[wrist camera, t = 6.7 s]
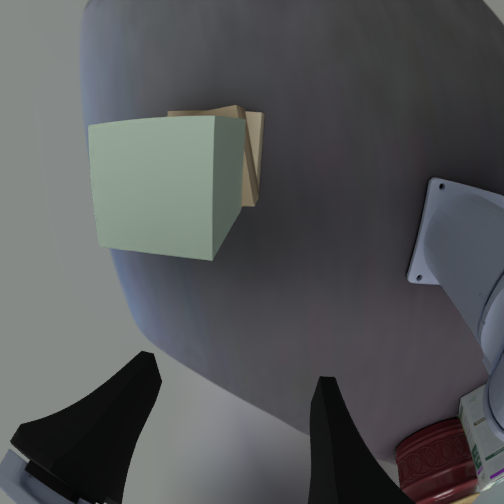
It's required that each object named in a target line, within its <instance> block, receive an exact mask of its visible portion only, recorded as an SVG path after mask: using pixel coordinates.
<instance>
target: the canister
mask: <svg viewBox="0 0 504 504" xmlns="http://www.w3.org/2000/svg"><path fill="white" fill-rule="evenodd" d="M395 459H396V465H397V467H398V474H399V483H400V489H401V490H402V491H403V492H404V493H405V494H406V495H407V496H408V497H409V498H411V499H412V500H413V501H414V502H415V503H416V504H472V503H473V501H474V500H475V499H476V498H477V496H479V494H480V493H479V492H477V493H476V489H477V486H478V485H479V483H478V478H477V475H476V471H475V467H474V463H473V460H472V456H471V452H470V449H469V446H468V442H467V439H466V436H465V433H464V430H463V427H462V424H461V421H460V419H450V420H446V421H443V422H439V423H437V424H434V425H432V426H429V427H427V428H425V429H423V430H421V431H419V432H417V433H415V434H413V435H412V436H410V437H409V438H407V439H406V440H404V441H403V442H402V443H401V444H400V445H399V446H398V447H397V449H396V456H395Z"/></svg>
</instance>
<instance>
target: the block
mask: <svg viewBox="0 0 504 504" xmlns="http://www.w3.org/2000/svg"><path fill="white" fill-rule="evenodd" d="M245 122H246V119H239V118H231V117H223V116H176V117H158V118H145V119H134V120H125V121H117V122H109V123H102V124H95V125H89V126H88V128H89V159H90V175H91V186H92V196H93V205H94V213H95V220H96V227H97V234H98V240H99V246H100V247H106V248H113V249H121V250H129V251H137V252H145V253H153V254H161V255H169V256H177V257H185V258H194V259H202V260H211V261H213V259H214V257H215V255H216V254H217V252H218V250H219V248H220V246H221V245H222V243H223V241H224V239H225V238H226V236H227V234H228V232H229V231H230V229H231V227H232V225H233V224H234V222H235V220H236V218H237V217H238V215H239V213H240V211H241V203H242V181H243V161H244V141H245Z"/></svg>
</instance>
